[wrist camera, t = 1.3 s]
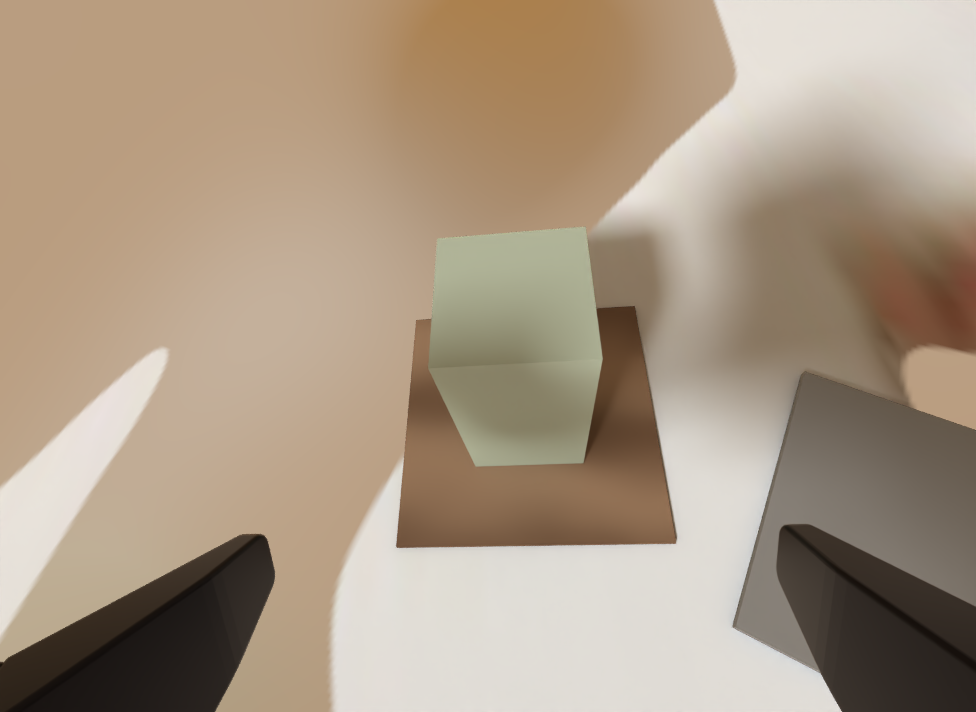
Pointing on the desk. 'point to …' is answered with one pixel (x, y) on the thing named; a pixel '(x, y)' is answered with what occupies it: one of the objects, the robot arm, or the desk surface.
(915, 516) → the slate mat
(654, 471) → the plate
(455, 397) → the sage block
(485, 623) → the desk surface
